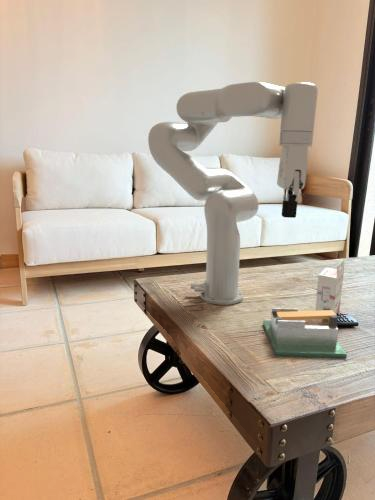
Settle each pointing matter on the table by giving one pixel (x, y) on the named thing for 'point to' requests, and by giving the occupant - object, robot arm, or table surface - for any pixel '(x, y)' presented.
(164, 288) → the table surface
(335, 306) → the ink cartridge box
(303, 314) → the orange wooden bar
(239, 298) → the robot arm
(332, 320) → the board
